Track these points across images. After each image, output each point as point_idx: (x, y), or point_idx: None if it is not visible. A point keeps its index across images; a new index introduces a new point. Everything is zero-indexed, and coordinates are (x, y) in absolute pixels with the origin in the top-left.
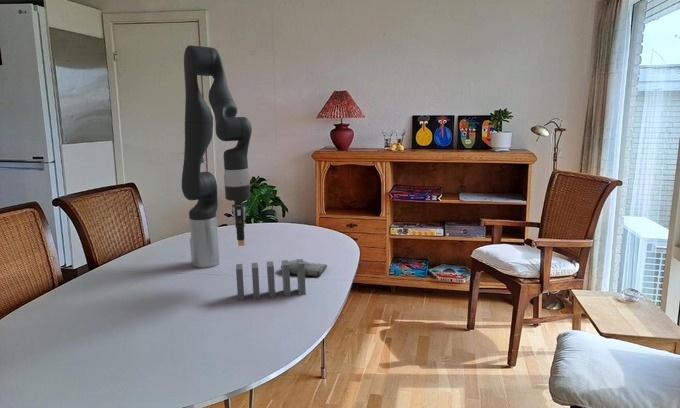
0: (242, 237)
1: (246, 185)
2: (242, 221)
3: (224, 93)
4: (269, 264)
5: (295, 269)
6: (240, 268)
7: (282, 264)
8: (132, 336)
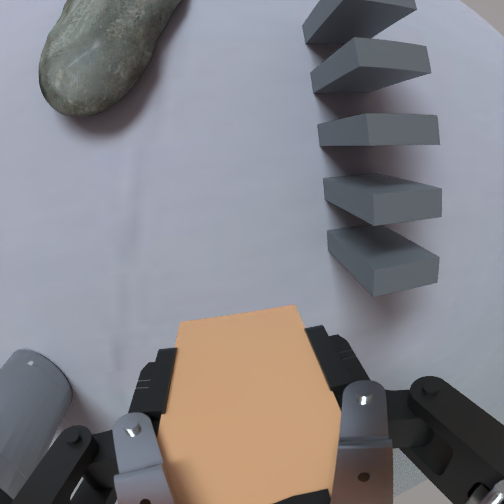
0: (344, 343)
1: None
2: (478, 417)
3: None
4: (411, 132)
5: (143, 46)
6: (432, 266)
7: (396, 70)
8: (465, 390)
